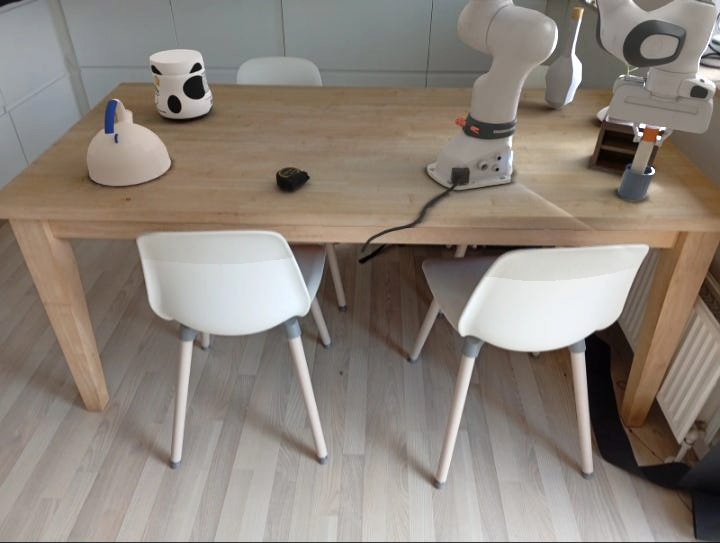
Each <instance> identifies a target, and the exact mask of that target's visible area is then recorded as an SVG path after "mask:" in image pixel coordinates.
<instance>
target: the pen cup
mask: <svg viewBox="0 0 720 543" xmlns="http://www.w3.org/2000/svg"><path fill="white" fill-rule="evenodd" d="M631 166H632V163H631V164H627V165H626V167H625V170H624V173H622V176H621V179H620V182H619V186H618V188H617V193H618V194H619V196H620V197H623V198H625V199H628V200H632V201H633V200H634V201H640V200H641V201H642V200H644V199H646V197H647V195H648V192H649V190H650V187H651V184H652V182H653V178H654V176H655V173H656V170H655V169H654V168H653V166H652V167H650V166H648V165H647V166H646V169H645V171H644V174H638V173H635V172H632V171H630V169H631Z"/></svg>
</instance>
